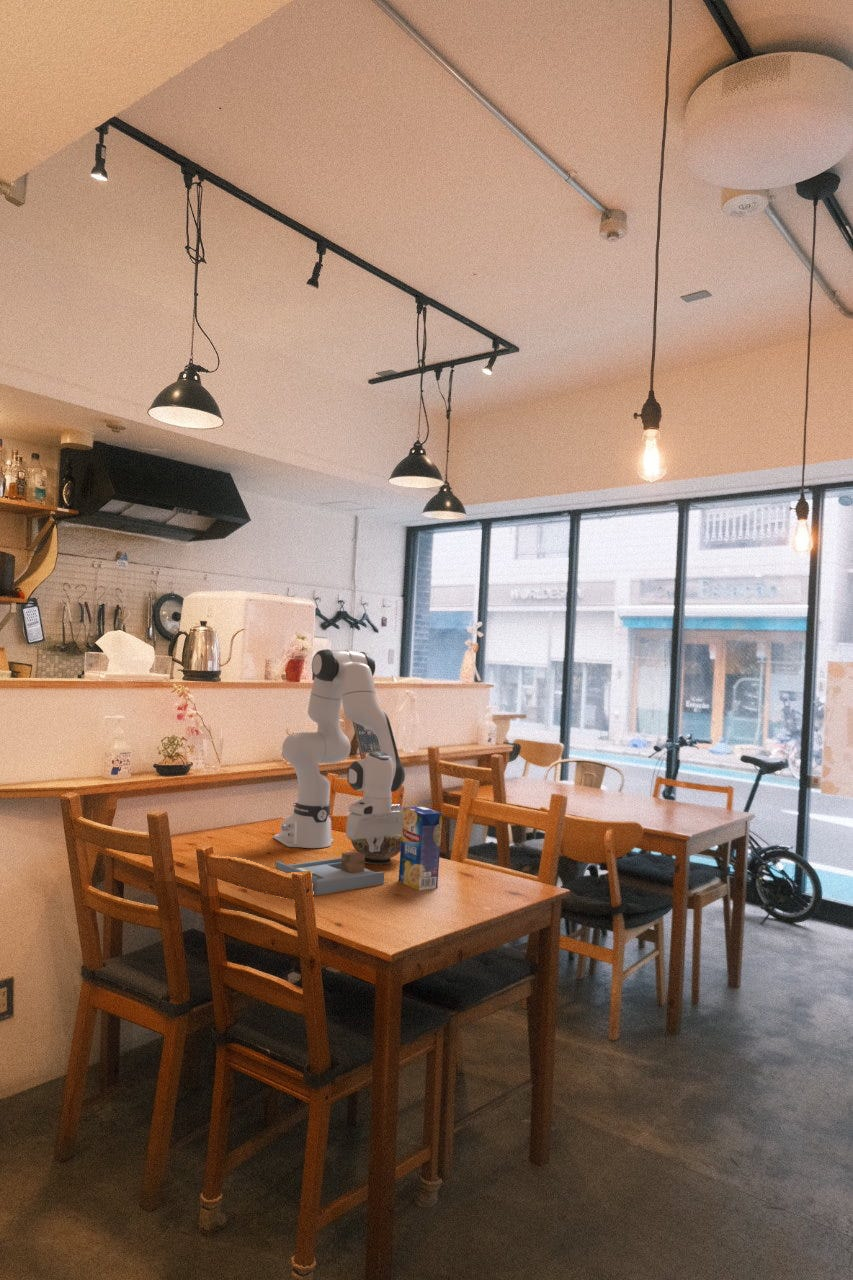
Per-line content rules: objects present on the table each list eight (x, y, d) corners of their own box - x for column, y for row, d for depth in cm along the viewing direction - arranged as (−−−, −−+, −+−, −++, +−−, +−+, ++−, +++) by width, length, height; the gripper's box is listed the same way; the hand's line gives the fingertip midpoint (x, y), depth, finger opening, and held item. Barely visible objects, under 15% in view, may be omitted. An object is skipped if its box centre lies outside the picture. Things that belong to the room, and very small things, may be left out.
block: (340, 869, 249) (341, 852, 249) (354, 867, 252) (355, 851, 252) (350, 873, 245) (351, 856, 245) (364, 871, 248) (365, 854, 248)
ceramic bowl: (357, 879, 259) (368, 835, 256) (327, 852, 272) (337, 810, 269) (417, 870, 275) (427, 828, 272) (385, 845, 288) (395, 805, 285)
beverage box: (417, 878, 254) (422, 806, 254) (437, 888, 245) (442, 813, 245) (398, 880, 250) (403, 807, 251) (418, 890, 241) (423, 814, 241)
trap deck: (274, 878, 243) (275, 861, 243) (343, 868, 260) (344, 852, 260) (313, 895, 228) (314, 877, 229) (383, 884, 245) (384, 867, 245)
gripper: (396, 802, 263) (394, 846, 262) (344, 806, 249) (341, 852, 249) (409, 805, 258) (406, 850, 258) (356, 809, 245) (354, 857, 244)
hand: (374, 851), depth 253 cm, fingers closed
